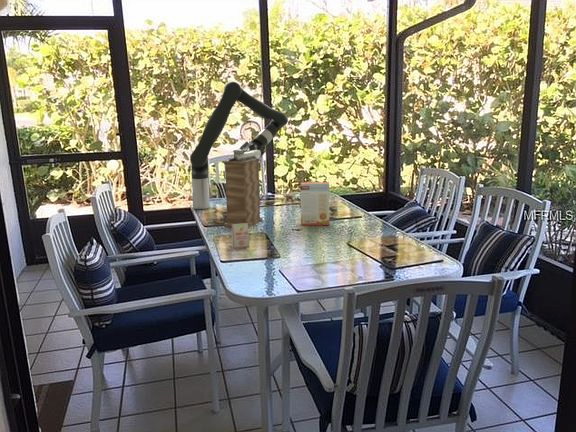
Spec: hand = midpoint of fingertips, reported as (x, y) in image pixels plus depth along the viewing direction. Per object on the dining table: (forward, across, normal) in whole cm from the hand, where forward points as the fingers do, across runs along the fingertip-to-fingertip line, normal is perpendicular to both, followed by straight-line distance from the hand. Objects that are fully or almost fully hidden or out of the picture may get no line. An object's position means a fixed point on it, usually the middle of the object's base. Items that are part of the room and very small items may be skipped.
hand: (245, 157), depth 268 cm
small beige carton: (+55, +45, -10) cm, 72 cm away
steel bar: (+9, +13, -11) cm, 20 cm away
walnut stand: (+32, +20, +11) cm, 39 cm away
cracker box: (+13, +50, +18) cm, 55 cm away
